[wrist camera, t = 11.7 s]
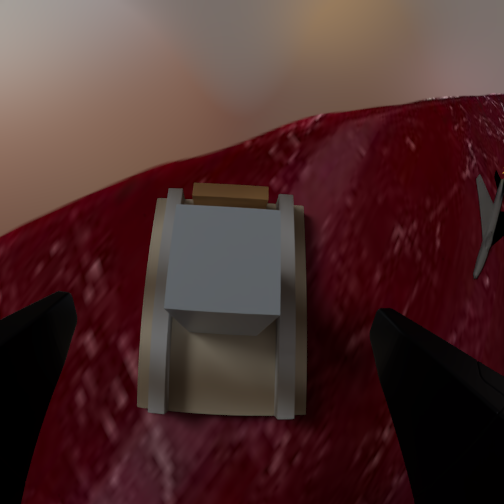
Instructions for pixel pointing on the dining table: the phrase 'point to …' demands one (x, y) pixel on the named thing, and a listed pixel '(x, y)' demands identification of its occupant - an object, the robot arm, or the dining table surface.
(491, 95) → the dining table surface
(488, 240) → the toy airplane
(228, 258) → the block
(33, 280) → the dining table surface
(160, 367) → the rail
